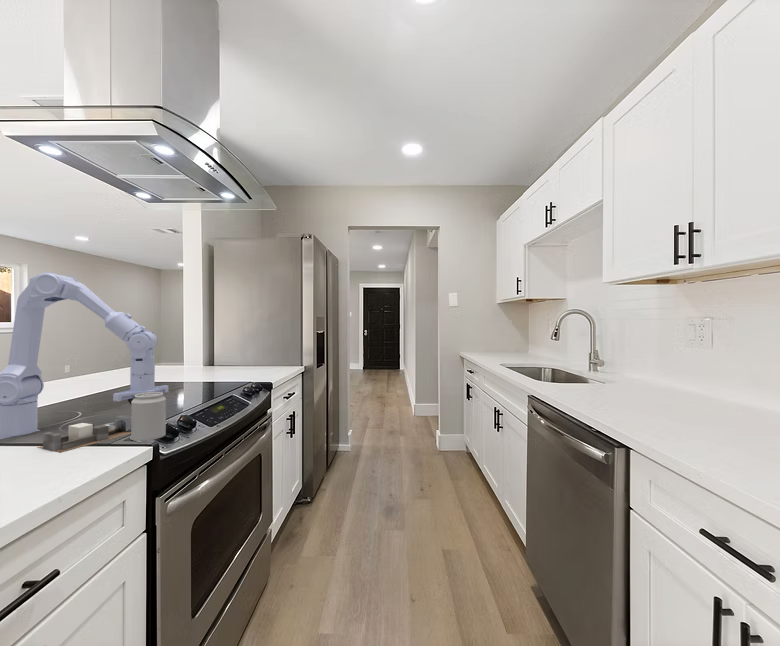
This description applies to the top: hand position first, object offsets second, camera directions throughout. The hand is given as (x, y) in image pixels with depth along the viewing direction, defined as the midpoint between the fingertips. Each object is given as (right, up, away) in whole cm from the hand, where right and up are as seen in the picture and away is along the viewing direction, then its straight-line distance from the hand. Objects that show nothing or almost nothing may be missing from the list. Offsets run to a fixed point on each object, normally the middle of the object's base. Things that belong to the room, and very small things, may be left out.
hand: (142, 421), depth 105 cm
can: (+8, -2, -10) cm, 13 cm away
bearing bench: (-5, -2, -13) cm, 14 cm away
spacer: (-6, -1, -14) cm, 15 cm away
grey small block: (-3, -1, -8) cm, 8 cm away
